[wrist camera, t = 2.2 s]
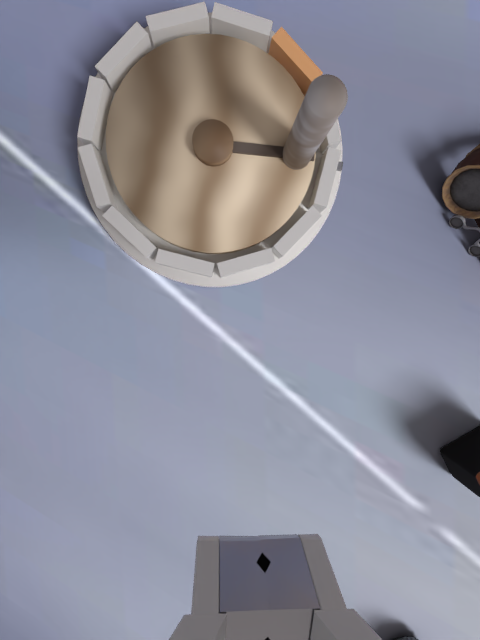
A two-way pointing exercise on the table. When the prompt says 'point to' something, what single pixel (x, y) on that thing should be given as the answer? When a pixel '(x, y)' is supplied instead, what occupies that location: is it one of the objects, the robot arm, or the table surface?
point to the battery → (465, 459)
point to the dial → (216, 141)
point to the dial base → (119, 216)
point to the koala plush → (407, 638)
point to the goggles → (465, 194)
